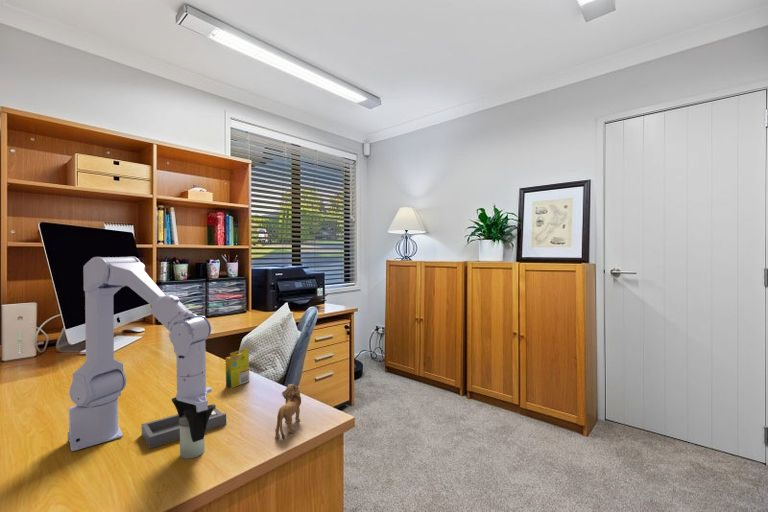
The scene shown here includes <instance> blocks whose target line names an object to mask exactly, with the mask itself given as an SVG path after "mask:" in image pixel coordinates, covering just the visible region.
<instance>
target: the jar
mask: <svg viewBox="0 0 768 512" xmlns="http://www.w3.org/2000/svg"><path fill="white" fill-rule="evenodd" d="M179 425H180V439H179V456H180V458H181V459H185V460H190V459H194V458H197V457H199V456H201V455H202V454H204V452H205V451H206V449H205V438H204V439H202V440H199V441H196V442H193V441H192V438H191V434H190V428H189V424H188V421H187V418H186V416H185V415H183V416H181V417H180V418H179Z"/></svg>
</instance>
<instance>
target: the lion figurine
mask: <svg viewBox="0 0 768 512" xmlns="http://www.w3.org/2000/svg"><path fill="white" fill-rule="evenodd" d="M281 396H282V397H283V399H285V404H283V405H282V406H281V407H280V408H279V409H278V412H277V418H276V427H275V434H274V435H275V436H274V438H275V439H279V438H280V437H281V440H282V441H285V439H286V438H285V437H286V436H285V434H284V431H283V419H285V421H284V422H285V423H286V424H287V430H288V432H289V433H291V434H293V433H295V432H296V430H295V429H294V428H292V424H293V416H294V415H295V419H294V420H295V422H297V423H298V422H301V419H300V413H301V412H300V410H301V409H300V407H301V404H302V396H301V391H300V390H299V387H298V386H297V385H295V383H289V384H287V387H286V388H285V390H283V391H281Z"/></svg>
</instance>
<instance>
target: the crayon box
mask: <svg viewBox="0 0 768 512" xmlns="http://www.w3.org/2000/svg"><path fill="white" fill-rule="evenodd" d="M229 354H230V355H229V356H227V357H225V359H224V360H225V387H226V388H229V389H233V388H235V387H239V386H240V385H243V384H246V383H249V382H250V361H249V347H247V348H243V349H240V350H235V351H233V352H230V353H229Z"/></svg>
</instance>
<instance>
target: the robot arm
mask: <svg viewBox="0 0 768 512" xmlns="http://www.w3.org/2000/svg"><path fill="white" fill-rule="evenodd" d="M82 272H83V292H84V297H85V299H84V300H85V301H84V302H85V303H84V304H85V305H84V310H85V312H84V313H85V317H84V318H85V322H84V323H85V325H84V326H85V361H84V362H83V364H81V366H79V368H77V369H76V370H75V371H74V372H73V373H72V381H71V384H70V387H69V389H68V390H69V392H68V393H69V394H68V395H69V397H70V400H71V401H72V403H74V404H75V405H73V406H70V407H68V432H67V440H68V441H69V447H70V452H74V451H79V450H81V449H85V448H90V447H92V446H96V445H99V444H102V443H106V442H111V441H113V440H117V439H120V438H122V437H124V434H123V432H122V430H121V428H120V426H119V397H121V395H122V391H124V389H125V388H126V385H127V375H126V373H125V371H124V363H123V362H121V361H119V360H117V359H115V340H114V337H115V336H114V334H115V333H114V332H115V330H114V329H115V328H114V325H115V324H114V322H115V321H114V315H115V314H114V295H115V294H116V293H118V291H120V290H121V289H122V288H124V287H128V288H130V289H131V290H132V291H133V292H135V293H136V294H137V295H138V296H139V297H141V298H142V299H143V300H145V301H146V302H147V303H148V304H149V305H150V306H151V307H150V313H151V315H152V316H153V317H155V318H156V320H157V321H158V322H159V323H161V324H162V325H163V327H164V328H165V329H166V330H167V331H168V332H169V333H168V338H169V341H170V342H171V344H172V346H173V352H174V355H175V356H176V395H175V397H173V398H171V402H172V403H173V405H174V407H175V409H176V411H177V414H178V415H179V418H180V417H181V416H183V415H185V416H186V418H187V421H188V424H189V428H190V434H191V438H192V441H193V442H196V441H199V440H202V439H204V440H205V435H206V431H207V430H206V426H207V423H208V420H209V417H210V415H211V413H212V412H213V409H214V406H213V405H212V404H208V399H207V398H208V393H212V392H213V389H212V387H211V386H207V365H206V364H207V361H206V359H207V358H206V351H207V350H206V340H207V339H209V337H210V336H211V334H212V326H211V323H210V320H208V318H207V317H206V316H205V315H199V314H198V315H197V314H196V313H193V311H191V310H189V308H188V307H186V306H185V305H184V304H183V303H182V302H181V299H180V298H179V297H178V296H177V295H176V296H175V295H172V294H167V295H166V294H165V293H164V292H163V290H162V289H161V288H160V287H159V286H158V285H157V284H156V282H154V281H153V279H152V277H150V276H149V274H148V273H147V272H146V265H145V263H143V262H141V260H140V259H139V258H137V257H136V256H134V255H133V256H119V257H118V256H115V257H114V256H112V257H110V256H107V257H106V256H105V257H104V256H103V257H102V256H93V257H92V258H90V260H88V261H87V262H86V263H85V264H84V265H83V271H82Z"/></svg>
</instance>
